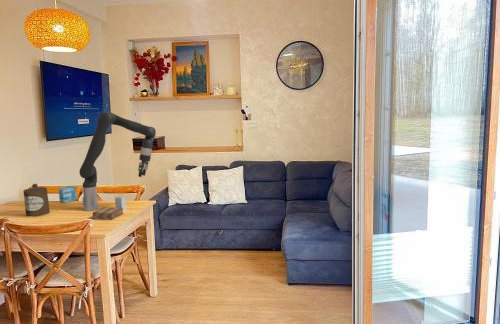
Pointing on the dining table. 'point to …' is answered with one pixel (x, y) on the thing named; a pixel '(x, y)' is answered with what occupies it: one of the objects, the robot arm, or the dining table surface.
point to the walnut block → (107, 213)
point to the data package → (67, 194)
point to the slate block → (120, 202)
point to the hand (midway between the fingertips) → (141, 176)
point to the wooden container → (36, 201)
